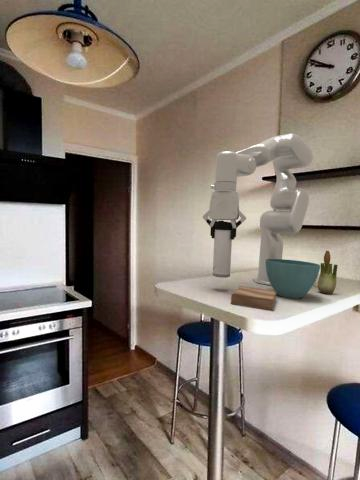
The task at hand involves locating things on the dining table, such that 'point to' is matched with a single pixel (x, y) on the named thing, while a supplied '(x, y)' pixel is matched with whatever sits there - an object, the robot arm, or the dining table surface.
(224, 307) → the dining table surface
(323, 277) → the fennel bulb
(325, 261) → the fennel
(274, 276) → the teal bowl
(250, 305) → the walnut board
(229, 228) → the travel mug
